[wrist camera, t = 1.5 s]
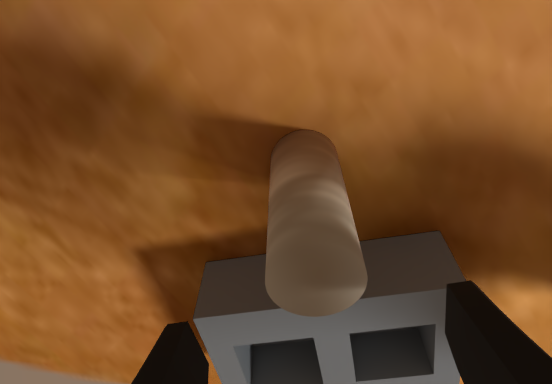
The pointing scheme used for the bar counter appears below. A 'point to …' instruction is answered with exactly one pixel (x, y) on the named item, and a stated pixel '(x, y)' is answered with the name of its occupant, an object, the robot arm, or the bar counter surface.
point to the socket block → (335, 321)
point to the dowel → (311, 230)
